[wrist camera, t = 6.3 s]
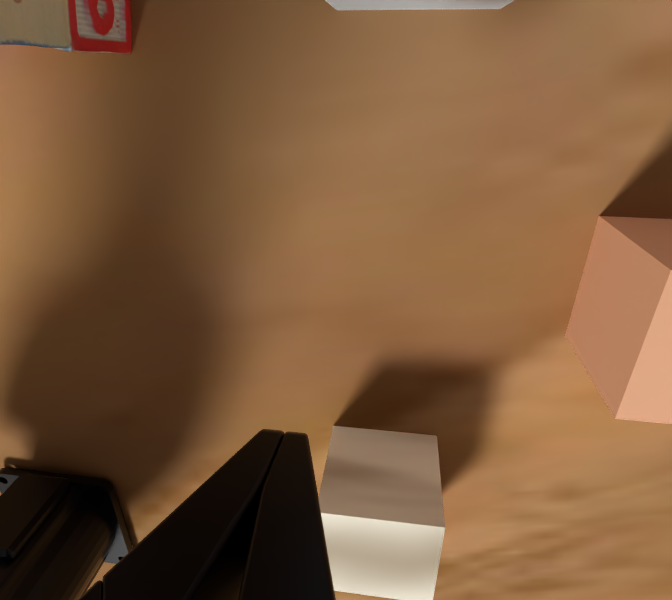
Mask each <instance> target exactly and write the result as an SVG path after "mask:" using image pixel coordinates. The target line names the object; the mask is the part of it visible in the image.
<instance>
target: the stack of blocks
mask: <svg viewBox="0 0 672 600" xmlns="http://www.w3.org/2000/svg"><path fill="white" fill-rule="evenodd" d="M0 44H14V45H29V46H40V47H49V48H55V49H59V50H63V51H70V52H89V53H114V54H131V52H132V43H131V8H130V0H0Z"/></svg>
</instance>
